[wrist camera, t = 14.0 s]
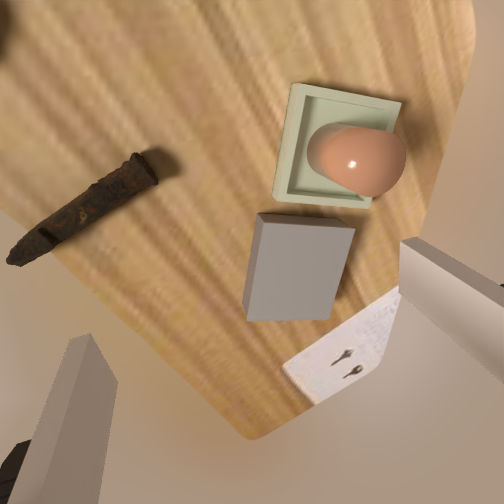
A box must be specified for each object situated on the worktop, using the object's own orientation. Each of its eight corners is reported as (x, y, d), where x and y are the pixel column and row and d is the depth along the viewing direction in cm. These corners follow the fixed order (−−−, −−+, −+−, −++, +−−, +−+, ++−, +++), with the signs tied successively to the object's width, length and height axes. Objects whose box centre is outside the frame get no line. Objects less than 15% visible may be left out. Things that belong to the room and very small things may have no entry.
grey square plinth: (255, 211, 43) (264, 222, 39) (340, 217, 46) (355, 228, 43) (240, 303, 49) (247, 321, 45) (316, 303, 52) (328, 319, 48)
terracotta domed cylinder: (312, 119, 39) (356, 127, 30) (359, 126, 41) (414, 134, 32) (302, 173, 41) (340, 195, 33) (347, 177, 43) (394, 199, 34)
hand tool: (139, 146, 37) (136, 153, 33) (161, 177, 39) (160, 188, 34) (-3, 233, 37) (-24, 250, 33) (24, 259, 39) (8, 279, 35)
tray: (291, 83, 37) (299, 83, 35) (389, 102, 41) (401, 102, 38) (271, 195, 42) (277, 201, 40) (359, 203, 46) (369, 209, 44)
